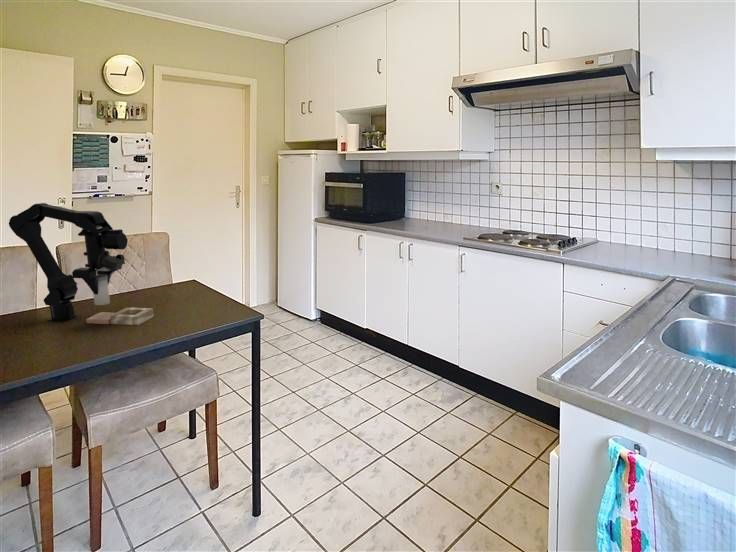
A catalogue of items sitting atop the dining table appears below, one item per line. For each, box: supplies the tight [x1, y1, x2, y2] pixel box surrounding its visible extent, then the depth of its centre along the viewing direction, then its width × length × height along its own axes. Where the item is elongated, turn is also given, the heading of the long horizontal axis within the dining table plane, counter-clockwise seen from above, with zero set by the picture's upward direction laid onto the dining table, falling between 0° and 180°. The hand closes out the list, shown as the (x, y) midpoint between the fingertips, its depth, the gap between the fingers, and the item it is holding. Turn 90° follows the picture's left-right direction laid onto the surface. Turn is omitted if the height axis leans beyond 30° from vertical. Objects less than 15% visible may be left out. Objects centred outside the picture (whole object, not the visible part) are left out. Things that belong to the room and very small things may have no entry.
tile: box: [85, 311, 116, 325], centre depth 172 cm, size 8×8×2 cm
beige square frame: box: [110, 307, 154, 326], centre depth 172 cm, size 10×10×3 cm
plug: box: [92, 274, 111, 306], centre depth 170 cm, size 5×5×10 cm
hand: (100, 292), depth 170 cm, fingers closed on plug, 5 cm apart
